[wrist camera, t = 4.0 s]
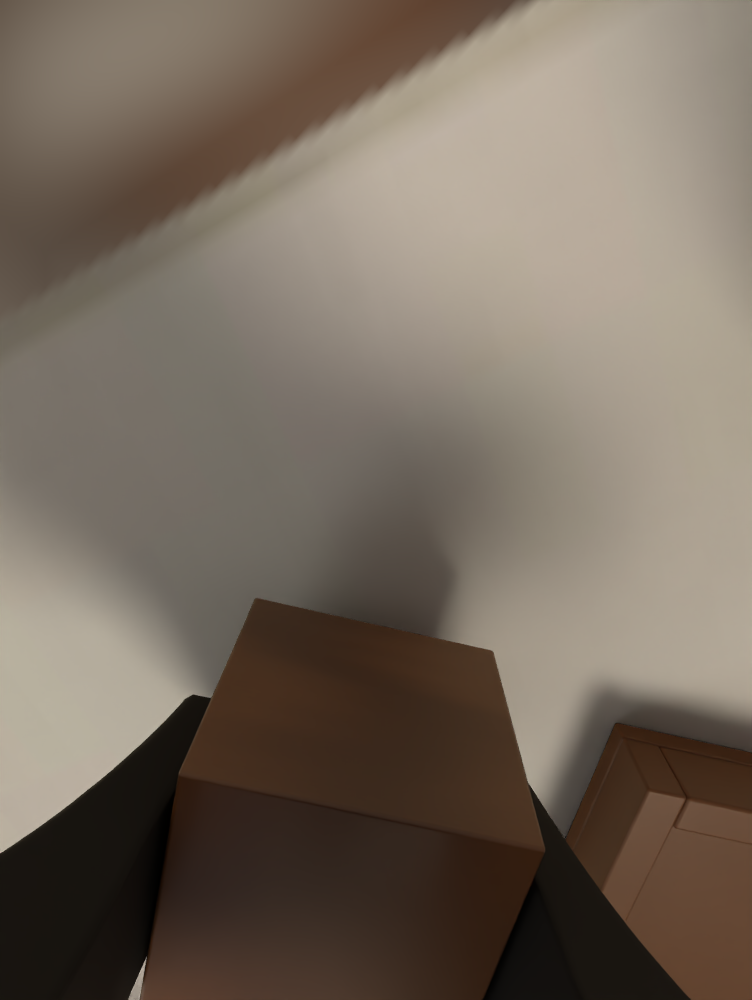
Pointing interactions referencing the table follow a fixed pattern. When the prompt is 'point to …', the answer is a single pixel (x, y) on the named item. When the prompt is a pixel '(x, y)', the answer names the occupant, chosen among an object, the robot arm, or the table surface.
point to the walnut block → (344, 821)
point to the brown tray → (675, 854)
